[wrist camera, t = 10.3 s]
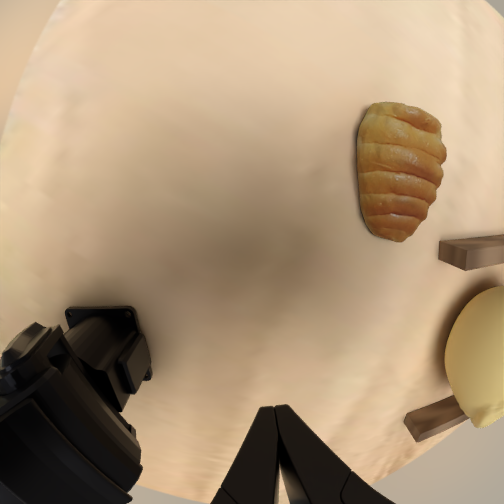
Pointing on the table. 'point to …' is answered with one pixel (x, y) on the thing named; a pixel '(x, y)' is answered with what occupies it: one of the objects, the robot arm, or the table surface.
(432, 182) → the pastry
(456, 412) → the frame
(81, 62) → the table surface
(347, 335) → the table surface
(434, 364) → the table surface
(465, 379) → the sculpture
